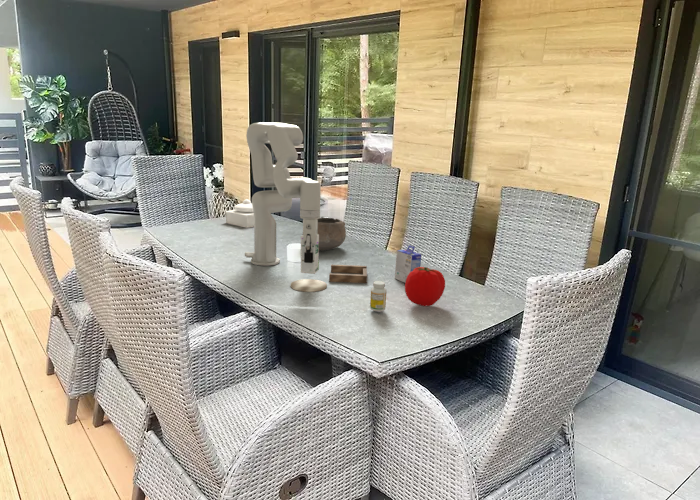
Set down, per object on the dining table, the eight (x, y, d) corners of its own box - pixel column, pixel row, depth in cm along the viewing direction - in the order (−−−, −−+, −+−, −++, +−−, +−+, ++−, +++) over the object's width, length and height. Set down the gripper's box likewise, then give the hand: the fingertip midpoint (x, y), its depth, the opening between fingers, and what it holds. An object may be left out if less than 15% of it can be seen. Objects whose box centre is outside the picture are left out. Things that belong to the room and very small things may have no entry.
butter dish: (269, 226, 311) (269, 199, 307) (246, 230, 297) (246, 202, 293) (248, 222, 321) (248, 195, 317) (225, 226, 307) (224, 199, 303)
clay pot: (295, 251, 256) (295, 220, 252) (313, 242, 275) (314, 214, 271) (335, 257, 249) (336, 225, 245) (351, 247, 267) (352, 218, 264)
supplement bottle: (379, 313, 180) (380, 286, 178) (366, 309, 184) (368, 282, 181) (388, 309, 184) (390, 282, 182) (376, 305, 188) (377, 279, 185)
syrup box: (315, 274, 201) (315, 236, 197) (300, 272, 202) (300, 235, 198) (318, 270, 206) (319, 233, 203) (304, 268, 207) (304, 232, 204)
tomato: (415, 312, 182) (417, 273, 179) (395, 299, 195) (398, 263, 191) (453, 307, 189) (456, 270, 185) (432, 295, 201) (435, 260, 197)
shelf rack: (329, 281, 212) (329, 274, 211) (331, 271, 226) (331, 264, 225) (366, 283, 212) (367, 275, 211) (366, 272, 226) (366, 265, 225)
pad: (288, 291, 199) (288, 289, 199) (292, 279, 212) (292, 278, 212) (325, 292, 199) (325, 291, 199) (327, 281, 212) (327, 279, 212)
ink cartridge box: (420, 283, 214) (422, 248, 211) (409, 285, 211) (412, 250, 208) (404, 276, 222) (406, 243, 219) (394, 278, 219) (396, 244, 216)
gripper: (318, 218, 190) (317, 266, 194) (321, 210, 207) (320, 254, 211) (297, 217, 190) (296, 266, 195) (302, 209, 207) (302, 254, 211)
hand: (309, 259), depth 203 cm, fingers closed on syrup box, 6 cm apart
